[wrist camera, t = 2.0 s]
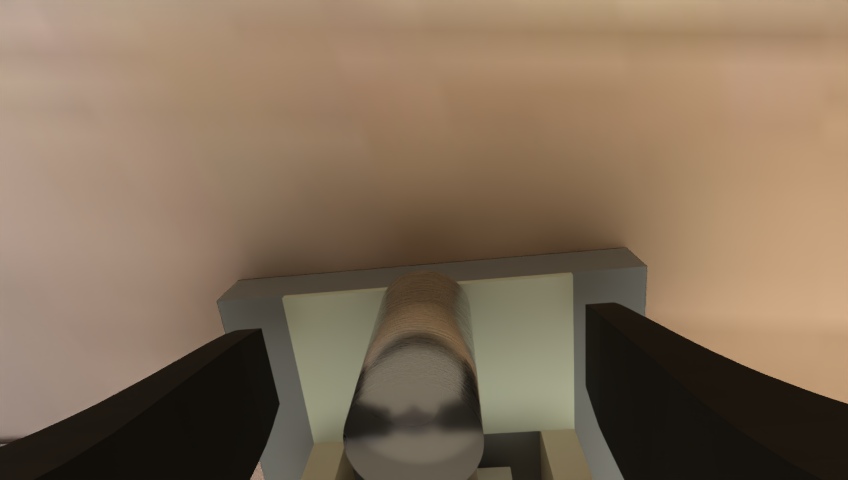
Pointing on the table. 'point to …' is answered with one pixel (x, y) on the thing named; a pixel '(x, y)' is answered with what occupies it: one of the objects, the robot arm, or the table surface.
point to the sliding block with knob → (419, 388)
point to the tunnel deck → (494, 351)
